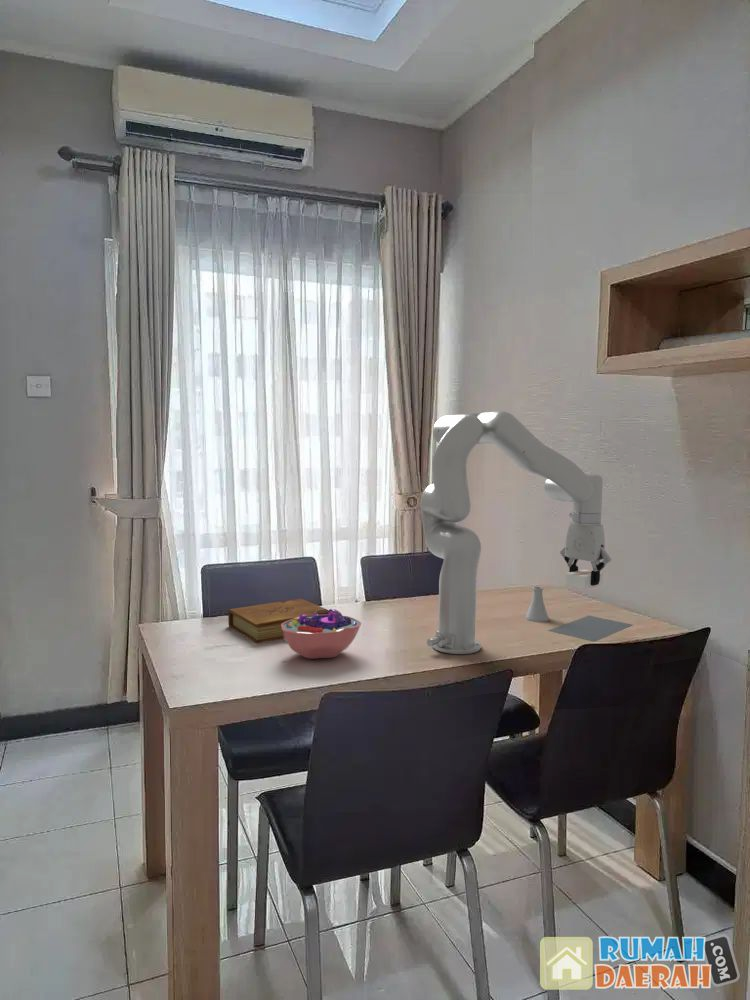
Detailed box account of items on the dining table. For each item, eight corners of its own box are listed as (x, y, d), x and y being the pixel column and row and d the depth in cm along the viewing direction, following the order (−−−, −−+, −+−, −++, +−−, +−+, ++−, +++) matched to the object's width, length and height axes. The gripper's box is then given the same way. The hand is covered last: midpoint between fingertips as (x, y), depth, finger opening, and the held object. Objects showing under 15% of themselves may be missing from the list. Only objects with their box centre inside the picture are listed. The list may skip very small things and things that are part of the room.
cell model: (272, 650, 174) (272, 606, 173) (345, 641, 182) (346, 599, 181) (291, 671, 158) (291, 623, 157) (371, 661, 166) (371, 615, 165)
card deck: (584, 589, 186) (585, 576, 186) (565, 585, 191) (565, 572, 190) (602, 585, 192) (602, 572, 192) (583, 581, 196) (583, 569, 196)
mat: (594, 643, 183) (594, 641, 183) (547, 632, 193) (547, 630, 193) (633, 626, 200) (633, 624, 200) (588, 617, 210) (588, 615, 210)
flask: (547, 617, 209) (548, 585, 208) (550, 624, 202) (552, 590, 201) (523, 616, 209) (524, 584, 209) (525, 623, 202) (527, 589, 201)
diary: (299, 616, 207) (300, 597, 207) (331, 631, 192) (331, 611, 192) (228, 627, 194) (228, 607, 194) (256, 644, 179) (256, 623, 179)
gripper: (552, 516, 193) (549, 579, 195) (608, 522, 181) (604, 590, 182) (567, 514, 198) (564, 576, 200) (622, 520, 185) (619, 586, 187)
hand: (583, 582), depth 191 cm, fingers closed on card deck, 5 cm apart
